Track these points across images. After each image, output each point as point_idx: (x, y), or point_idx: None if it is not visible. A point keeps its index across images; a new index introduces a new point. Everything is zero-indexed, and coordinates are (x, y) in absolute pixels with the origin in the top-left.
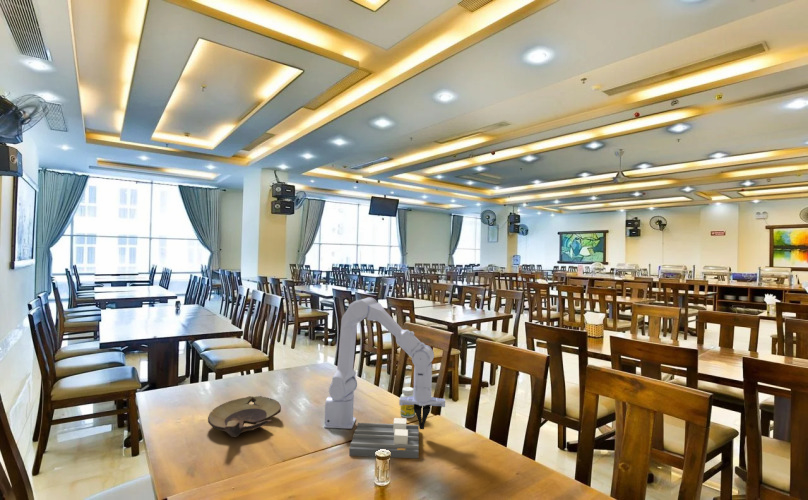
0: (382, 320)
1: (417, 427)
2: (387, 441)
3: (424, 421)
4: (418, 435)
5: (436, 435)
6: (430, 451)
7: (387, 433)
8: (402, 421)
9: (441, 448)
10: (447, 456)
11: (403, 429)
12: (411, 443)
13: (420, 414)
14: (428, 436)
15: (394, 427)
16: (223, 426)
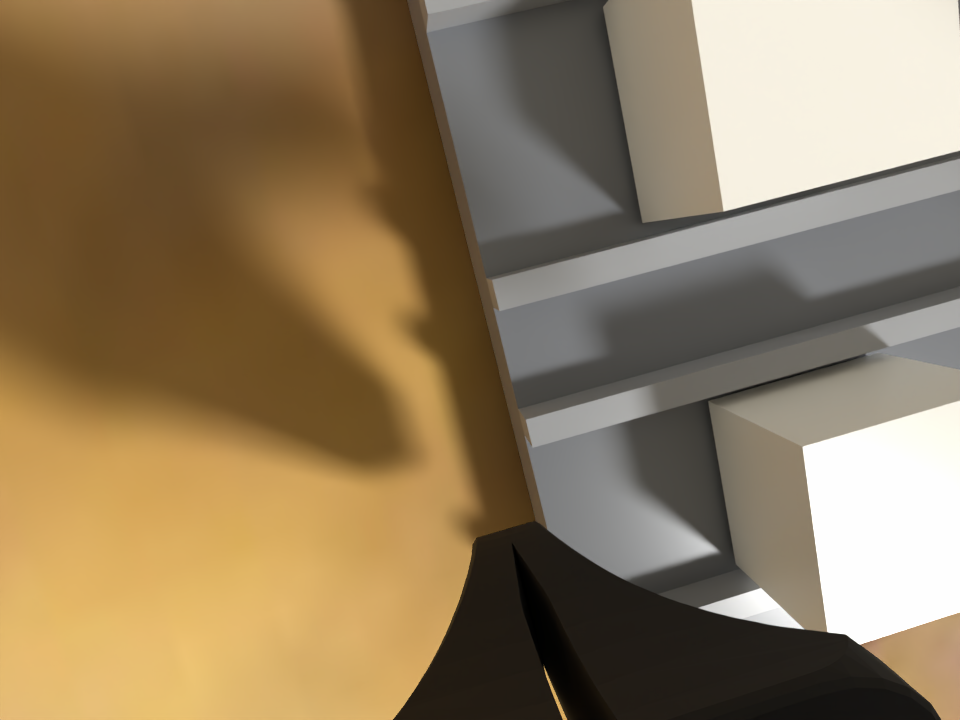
0: None
1: None
2: None
3: (473, 599)
4: (521, 411)
5: (330, 634)
6: (291, 205)
7: (952, 291)
8: (879, 510)
9: (170, 334)
10: (20, 142)
11: (809, 186)
12: (563, 138)
13: (609, 657)
14: (420, 574)
15: (931, 374)
16: None
